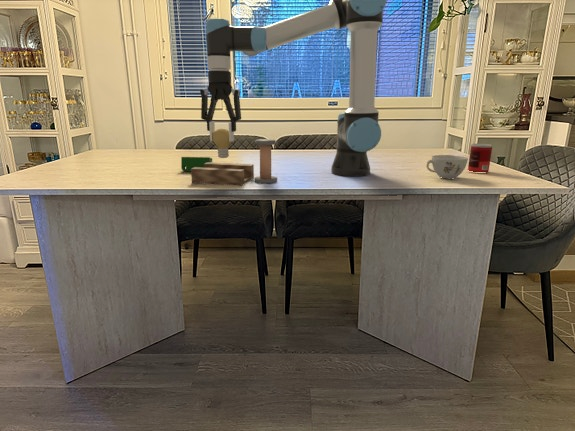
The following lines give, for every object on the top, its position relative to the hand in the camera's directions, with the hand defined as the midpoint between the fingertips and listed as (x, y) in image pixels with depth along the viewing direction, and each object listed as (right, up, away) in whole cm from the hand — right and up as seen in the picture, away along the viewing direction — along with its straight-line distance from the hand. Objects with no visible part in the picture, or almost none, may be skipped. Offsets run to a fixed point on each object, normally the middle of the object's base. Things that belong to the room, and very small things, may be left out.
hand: (222, 140), depth 140 cm
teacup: (+82, -12, +11) cm, 83 cm away
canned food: (+100, -9, +23) cm, 103 cm away
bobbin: (+15, -14, +3) cm, 21 cm away
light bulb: (0, -6, +2) cm, 6 cm away
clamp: (-13, -8, +22) cm, 27 cm away
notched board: (0, -13, +4) cm, 14 cm away
